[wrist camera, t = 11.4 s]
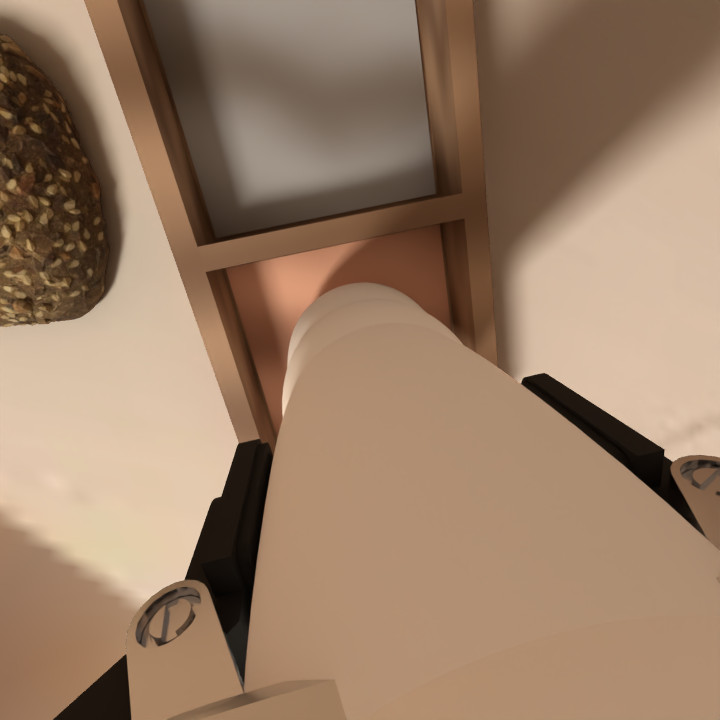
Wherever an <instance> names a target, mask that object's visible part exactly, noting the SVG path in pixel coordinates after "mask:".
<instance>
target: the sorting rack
mask: <svg viewBox="0 0 720 720" xmlns="http://www.w3.org/2000/svg"><path fill="white" fill-rule="evenodd" d="M84 1H85V4H86V7H87V10H88V13H89V16H90V18H91V21H92V24H93V27H94V30H95V33H96V36H97V38H98V41H99V44H100V47H101V50H102V53H103V56H104V58H105V61H106V64H107V67H108V70H109V73H110V76H111V78H112V81H113V84H114V87H115V90H116V93H117V96H118V99H119V101H120V104H121V107H122V110H123V113H124V116H125V119H126V121H127V124H128V127H129V130H130V133H131V136H132V139H133V141H134V144H135V147H136V150H137V153H138V156H139V159H140V161H141V164H142V167H143V170H144V173H145V176H146V179H147V181H148V184H149V187H150V190H151V193H152V196H153V199H154V201H155V204H156V207H157V210H158V213H159V216H160V219H161V221H162V224H163V227H164V230H165V233H166V236H167V239H168V241H169V244H170V247H171V250H172V253H173V256H174V259H175V261H176V264H177V267H178V270H179V273H180V276H181V279H182V281H183V284H184V287H185V290H186V293H187V296H188V299H189V301H190V304H191V307H192V310H193V313H194V316H195V319H196V321H197V324H198V327H199V330H200V333H201V336H202V339H203V341H204V344H205V347H206V350H207V353H208V356H209V359H210V361H211V364H212V367H213V370H214V373H215V376H216V379H217V381H218V384H219V387H220V390H221V393H222V396H223V399H224V401H225V404H226V407H227V410H228V413H229V416H230V419H231V421H232V424H233V427H234V430H235V433H236V436H237V439H238V441H239V443H243V442H247V441H251V440H256V439H260V440H261V442H262V443H266V442H268V443H269V445H270V447H271V450H272V454H273V457H274V452H275V447H276V443H277V439H278V434H279V430H280V426H281V423H282V419H283V414H282V395H283V386H284V380H285V375H286V371H287V363H288V350H289V344H290V340H291V336H292V333H293V330H294V328H295V326H296V324H297V322H298V320H299V318H300V317H301V315H302V314H303V312H304V311H305V310H306V309H307V308H308V307H309V306H310V305H311V304H312V303H313V302H314V301H315V300H316V299H317V298H319V297H320V296H322V295H323V294H325V293H326V292H328V291H330V290H332V289H335V288H337V287H339V286H343V285H347V284H351V283H361V282H368V283H377V284H382V285H385V286H389V287H391V288H394V289H396V290H398V291H400V292H402V293H404V294H405V295H407V296H408V297H409V298H411V299H412V300H413V301H415V302H416V303H417V304H418V305H419V306H420V307H421V308H422V309H423V310H424V311H425V312H426V313H428V314H429V315H431V316H433V317H434V318H436V319H437V320H438V321H440V322H441V323H442V324H444V325H445V326H446V327H447V328H448V329H449V330H450V331H451V332H452V333H454V335H455V336H456V337H457V338H458V339H459V340H460V341H461V342H462V344H463V345H464V346H465V347H467V348H469V349H471V350H472V351H474V352H475V353H477V354H479V355H480V356H482V357H483V358H485V359H486V360H488V361H489V362H491V363H492V364H494V365H495V366H497V367H498V363H497V348H496V334H495V319H494V305H493V290H492V276H491V261H490V246H489V232H488V217H487V203H486V188H485V174H484V159H483V145H482V130H481V116H480V101H479V87H478V72H477V58H476V43H475V29H474V14H473V0H84Z"/></svg>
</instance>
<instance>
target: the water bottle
mask: <svg viewBox="0 0 720 720" xmlns="http://www.w3.org/2000/svg"><path fill="white" fill-rule="evenodd" d="M282 414H283V419H282V423H281V426H280V430H279V434H278V439H277V443H276V447H275V452H274V457H273V462H272V467H271V472H270V478H269V484H268V490H267V496H266V502H265V508H264V514H263V521H262V528H261V535H260V542H259V549H258V556H257V564H256V572H255V580H254V588H253V596H252V604H251V614H250V624H249V634H248V644H247V655H246V665H245V678H244V693H246V692H250V691H253V690H256V689H260V688H263V687H267V686H270V685H274V684H277V683H281V682H284V681H295V680H333V679H335V682H336V685H337V689H338V692H339V696H340V699H341V702H342V706H343V709H344V712H345V716H346V719H347V720H720V583H719V582H718V581H717V579H716V577H717V576H718V575H719V574H720V551H719V550H718V549H717V548H716V547H715V546H714V545H713V544H712V543H711V542H710V541H708V540H707V539H706V538H705V537H704V536H703V535H702V534H701V533H700V532H699V531H697V530H696V529H695V528H694V527H693V526H692V525H691V524H690V523H689V522H688V521H686V520H685V519H684V518H683V517H682V516H681V515H680V514H679V513H678V512H677V511H675V510H674V509H673V508H672V507H671V506H670V505H669V504H668V503H667V502H665V501H664V500H663V499H662V498H661V497H660V496H658V495H657V494H656V493H655V492H654V491H653V490H652V489H650V488H649V487H648V486H647V485H646V484H645V483H643V482H642V481H641V480H640V479H639V478H638V477H636V476H635V475H634V474H633V473H632V472H631V471H629V470H628V469H627V468H626V467H625V466H624V465H623V464H621V463H620V462H619V461H618V460H616V459H615V458H614V457H613V456H612V455H610V454H609V453H608V452H607V451H605V450H604V449H603V448H602V447H601V446H599V445H598V444H597V443H596V442H594V441H593V440H592V439H591V438H589V437H588V436H587V435H586V434H585V433H583V432H582V431H581V430H580V429H578V428H577V427H576V426H575V425H573V424H572V423H571V422H570V421H568V420H567V419H566V418H565V417H563V416H562V415H561V414H559V413H558V412H557V411H556V410H554V409H553V408H552V407H551V406H549V405H548V404H547V403H545V402H544V401H543V400H542V399H540V398H539V397H538V396H536V395H535V394H534V393H532V392H531V391H530V390H528V389H527V388H526V387H524V386H523V385H522V384H520V383H519V382H518V381H516V380H515V379H513V378H512V377H511V376H509V375H508V374H507V373H505V372H504V371H502V370H501V369H499V368H498V367H497V366H495V365H494V364H492V363H491V362H489V361H488V360H486V359H485V358H483V357H482V356H480V355H479V354H477V353H475V352H474V351H472V350H471V349H469V348H467V347H465V346H464V345H463V344H462V342H461V341H460V340H459V339H458V338H457V337H456V336H455V335H454V333H452V332H451V331H450V330H449V329H448V328H447V327H446V326H445V325H444V324H442V323H441V322H440V321H438V320H437V319H436V318H434V317H433V316H431V315H429V314H428V313H426V312H425V311H424V310H423V309H422V308H421V307H420V306H419V305H418V304H417V303H416V302H415V301H413V300H412V299H411V298H409V297H408V296H407V295H405V294H404V293H402V292H400V291H398V290H396V289H394V288H391V287H389V286H385V285H382V284H377V283H368V282H361V283H351V284H347V285H343V286H339V287H337V288H335V289H332V290H330V291H328V292H326V293H325V294H323V295H322V296H320V297H319V298H317V299H316V300H315V301H314V302H313V303H312V304H311V305H310V306H309V307H308V308H307V309H306V310H305V311H304V312H303V314H302V315H301V317H300V318H299V320H298V322H297V324H296V326H295V328H294V330H293V333H292V336H291V340H290V344H289V350H288V363H287V371H286V375H285V380H284V386H283V395H282Z"/></svg>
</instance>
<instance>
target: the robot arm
mask: <svg viewBox="0 0 720 720" xmlns="http://www.w3.org/2000/svg"><path fill="white" fill-rule="evenodd" d="M521 384H522V385H523V386H524V387H526V388H527V389H528V390H530V391H531V392H532V393H534V394H535V395H536V396H538V397H539V398H540V399H542V400H543V401H544V402H545V403H547V404H548V405H549V406H551V407H552V408H553V409H554V410H556V411H557V412H558V413H559V414H561V415H562V416H563V417H565V418H566V419H567V420H568V421H570V422H571V423H572V424H573V425H575V426H576V427H577V428H578V429H580V430H581V431H582V432H583V433H585V434H586V435H587V436H588V437H589V438H591V439H592V440H593V441H594V442H596V443H597V444H598V445H599V446H601V447H602V448H603V449H604V450H605V451H607V452H608V453H609V454H610V455H612V456H613V457H614V458H615V459H616V460H618V461H619V462H620V463H621V464H623V465H624V466H625V467H626V468H627V469H628V470H629V471H631V472H632V473H633V474H634V475H635V476H636V477H638V478H639V479H640V480H641V481H642V482H643V483H645V484H646V485H647V486H648V487H649V488H650V489H652V490H653V491H654V492H655V493H656V494H657V495H658V496H660V497H661V498H662V499H663V500H664V501H665V502H667V503H668V504H669V505H670V506H671V507H672V508H673V509H674V510H675V511H677V512H678V513H679V514H680V515H681V516H682V517H683V518H684V519H685V520H686V521H688V522H689V523H690V524H691V525H692V526H693V527H694V528H695V529H696V530H697V531H699V532H700V533H701V534H702V535H703V536H704V537H705V538H706V539H707V540H708V541H710V542H711V543H712V544H713V545H714V546H715V547H716V548H717V549H718V550H719V551H720V458H719V457H715V456H705V455H690V456H685V457H681V458H678V459H677V460H675V461H674V462H672V461H671V460H669V459H668V458H666V457H665V456H664V451H665V450H664V449H663V448H661V447H659V446H658V445H656V444H655V443H653V442H652V441H650V440H649V439H647V438H645V437H644V436H642V435H641V434H639V433H638V432H636V431H635V430H633V429H631V428H630V427H628V426H627V425H625V424H624V423H622V422H621V421H619V420H617V419H616V418H614V417H613V416H611V415H610V414H608V413H607V412H605V411H603V410H602V409H600V408H599V407H597V406H596V405H594V404H593V403H591V402H589V401H588V400H586V399H585V398H583V397H582V396H580V395H579V394H577V393H576V392H574V391H572V390H571V389H569V388H568V387H566V386H565V385H563V384H562V383H560V382H558V381H557V380H555V379H554V378H552V377H551V376H549V375H548V374H545V373H542V374H537V375H533V376H529V377H524V378H523V380H522V383H521ZM272 462H273V454H272V450H271V447H270V445H269V443H268V442H266V443H262V442H261V440H260V439H256V440H251V441H247V442H243V443H239V444H238V446H237V449H236V452H235V455H234V458H233V461H232V465H231V468H230V471H229V474H228V477H227V480H226V484H225V487H224V490H223V493H222V496H221V497H218V498H215V499H214V500H213V501H212V503H211V505H210V508H209V511H208V514H207V516H206V519H205V522H204V525H203V528H202V531H201V534H200V537H199V540H198V543H197V545H196V548H195V551H194V554H193V557H192V560H191V563H190V566H189V569H188V572H187V574H186V577H185V580H184V581H180V582H176V583H174V584H171V585H169V586H167V587H165V588H163V589H162V590H160V591H159V592H158V593H156V594H155V595H153V596H152V597H151V598H150V599H149V600H148V601H147V602H146V603H145V604H144V605H143V606H142V607H141V608H140V609H139V611H138V612H137V613H136V615H135V616H134V618H133V619H132V621H131V623H130V626H129V628H128V630H127V636H126V652H127V654H126V655H124V656H123V657H122V658H121V659H120V660H119V661H118V662H117V663H116V664H114V665H113V666H112V667H111V668H110V669H109V670H108V671H107V672H106V673H104V674H103V675H102V676H101V677H100V678H99V679H98V680H97V681H96V682H94V683H93V684H92V685H91V686H90V687H89V688H88V689H87V690H86V691H84V692H83V693H82V694H81V695H80V696H79V697H78V698H77V699H76V700H74V701H73V702H72V703H71V704H70V705H69V706H68V707H67V708H66V709H64V710H63V711H62V712H61V713H60V714H59V715H58V716H57V717H55V718H54V719H53V720H347V719H346V716H345V712H344V709H343V706H342V702H341V699H340V696H339V692H338V689H337V685H336V682H335V679H333V680H295V681H284V682H281V683H277V684H274V685H270V686H267V687H263V688H260V689H256V690H253V691H250V692H246V693H244V678H245V665H246V655H247V644H248V634H249V624H250V614H251V604H252V596H253V588H254V580H255V572H256V564H257V556H258V549H259V542H260V535H261V528H262V521H263V514H264V508H265V502H266V496H267V490H268V484H269V478H270V472H271V467H272ZM716 579H717V581H718V582H719V583H720V574H719V575H718V576H717V577H716Z"/></svg>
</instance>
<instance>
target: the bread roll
mask: <svg viewBox="0 0 720 720" xmlns="http://www.w3.org/2000/svg"><path fill="white" fill-rule="evenodd" d="M100 197H101V192H100V185H99V182H98V180H97V178H96V176H95V174H94V172H93V170H92V169H91V166H90V163H89V161H88V159H87V158H86V156H85V155H84V154H83V152H82V150H81V148H80V145H79V136H78V133H77V131H76V129H75V126H74V124H73V122H72V120H71V118H70V116H69V114H68V111H67V107H66V104H65V102H64V100H63V98H62V97H61V95H60V94H59V93H58V92H57V90H56V89H55V88H54V86H53V85H52V84H51V83H50V81H49V80H48V79H47V77H46V76H45V75H44V73H43V72H42V71H41V70H40V69H39V68H38V67H36V66H35V65H34V64H33V62H32V61H31V60H30V59H29V58H28V57H27V56H26V55H25V54H24V53H23V52H22V51H21V49H20V48H19V47H18V46H17V44H16V43H15V42H14V41H12V40H11V39H10V38H9V37H8V36H6V35H2V34H0V326H3V327H7V326H12V325H14V326H15V325H26V324H31V325H32V326H33V325H35V324H37V323H38V324H49V323H50V322H55V321H65V320H72V319H76V318H80V317H82V316H83V315H85V314H86V313H88V312H89V311H90V310H92V309H93V308H94V307H95V305H96V304H97V303H98V301H99V299H100V297H101V295H102V294H103V293H104V292H105V285H104V277H105V269H106V264H107V259H108V255H109V250H110V249H109V244H108V243H107V241H106V236H105V228H106V223H105V222H104V220H103V217H102V210H101V203H100Z"/></svg>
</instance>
